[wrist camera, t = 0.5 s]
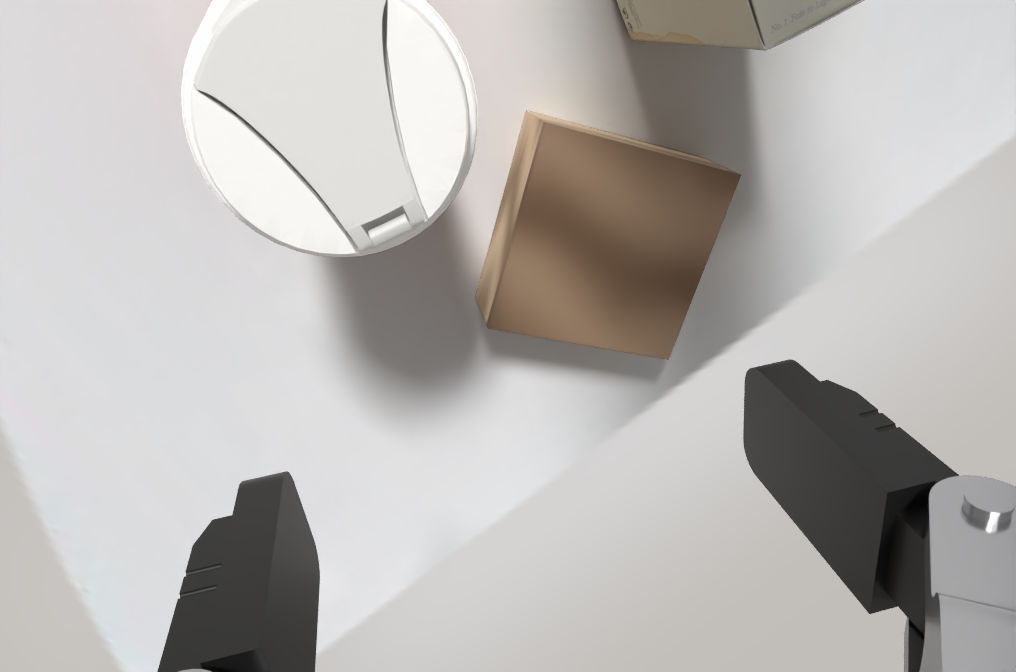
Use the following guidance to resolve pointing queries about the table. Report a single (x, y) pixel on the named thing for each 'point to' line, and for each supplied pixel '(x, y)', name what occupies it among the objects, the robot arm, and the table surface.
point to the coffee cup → (330, 119)
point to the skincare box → (727, 20)
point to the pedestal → (600, 238)
